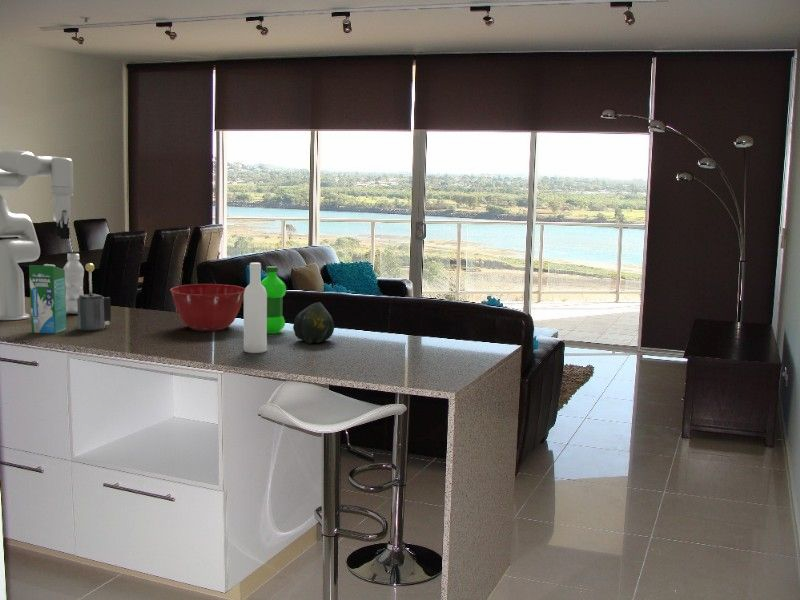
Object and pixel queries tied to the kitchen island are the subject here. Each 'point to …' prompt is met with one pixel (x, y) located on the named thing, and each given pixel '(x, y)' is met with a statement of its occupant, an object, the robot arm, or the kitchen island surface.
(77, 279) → the plastic bottle
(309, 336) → the squash
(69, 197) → the robot arm
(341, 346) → the kitchen island surface
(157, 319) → the kitchen island surface
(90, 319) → the carafe
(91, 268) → the plunger
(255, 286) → the bottle
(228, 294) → the mixing bowl
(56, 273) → the milk carton
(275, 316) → the plastic bottle
